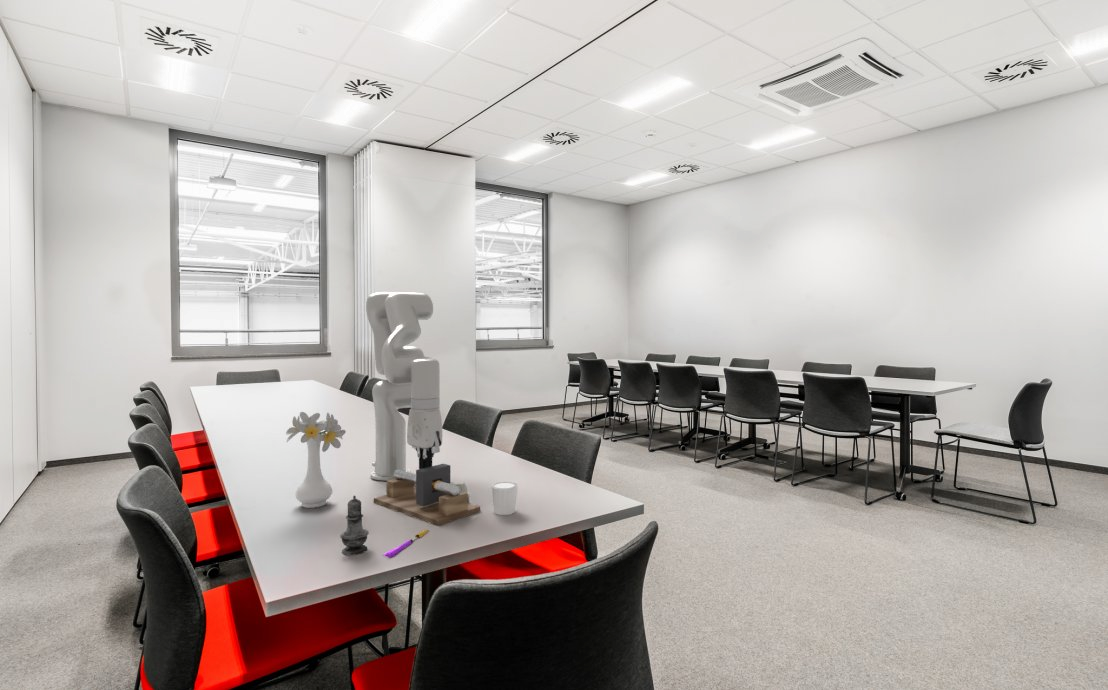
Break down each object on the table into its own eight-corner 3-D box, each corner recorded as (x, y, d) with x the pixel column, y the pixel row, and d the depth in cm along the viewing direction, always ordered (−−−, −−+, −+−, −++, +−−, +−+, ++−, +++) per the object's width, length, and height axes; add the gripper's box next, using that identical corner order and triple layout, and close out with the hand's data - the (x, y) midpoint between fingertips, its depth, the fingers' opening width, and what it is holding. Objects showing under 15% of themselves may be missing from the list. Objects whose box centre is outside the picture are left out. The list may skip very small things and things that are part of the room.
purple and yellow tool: (391, 558, 114) (430, 532, 130) (390, 553, 114) (428, 527, 130) (380, 560, 115) (420, 534, 130) (379, 554, 115) (419, 529, 130)
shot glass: (510, 517, 139) (510, 490, 139) (486, 514, 142) (486, 487, 142) (521, 509, 146) (521, 483, 146) (498, 506, 148) (498, 480, 148)
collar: (416, 504, 143) (416, 469, 142) (443, 496, 150) (443, 463, 149) (423, 506, 141) (423, 471, 141) (450, 498, 148) (450, 465, 148)
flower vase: (321, 517, 139) (320, 419, 138) (273, 506, 147) (272, 414, 146) (360, 502, 150) (359, 412, 150) (313, 493, 159) (313, 408, 158)
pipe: (393, 479, 155) (393, 470, 154) (401, 477, 157) (401, 468, 157) (453, 497, 138) (453, 487, 138) (461, 495, 140) (461, 484, 140)
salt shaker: (352, 557, 114) (351, 501, 114) (334, 551, 117) (334, 496, 117) (374, 548, 119) (374, 494, 119) (357, 542, 122) (356, 489, 122)
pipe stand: (373, 502, 151) (373, 482, 151) (415, 491, 162) (415, 472, 162) (437, 525, 133) (437, 503, 133) (480, 511, 144) (480, 490, 144)
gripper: (397, 403, 149) (397, 470, 149) (431, 408, 139) (431, 479, 139) (419, 400, 154) (420, 465, 155) (454, 405, 145) (454, 474, 145)
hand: (425, 472), depth 147 cm, fingers closed
